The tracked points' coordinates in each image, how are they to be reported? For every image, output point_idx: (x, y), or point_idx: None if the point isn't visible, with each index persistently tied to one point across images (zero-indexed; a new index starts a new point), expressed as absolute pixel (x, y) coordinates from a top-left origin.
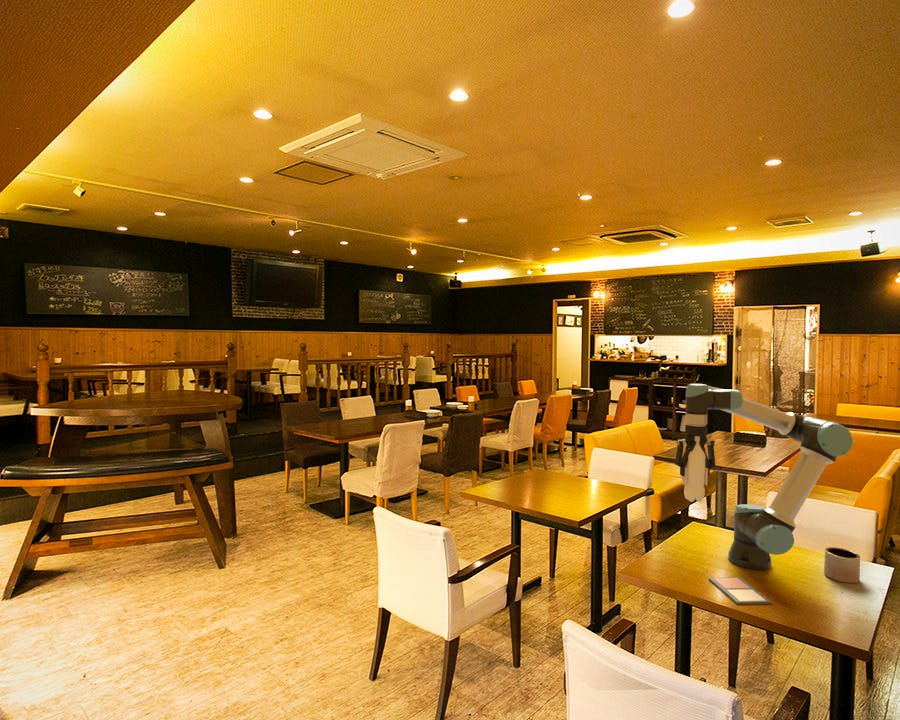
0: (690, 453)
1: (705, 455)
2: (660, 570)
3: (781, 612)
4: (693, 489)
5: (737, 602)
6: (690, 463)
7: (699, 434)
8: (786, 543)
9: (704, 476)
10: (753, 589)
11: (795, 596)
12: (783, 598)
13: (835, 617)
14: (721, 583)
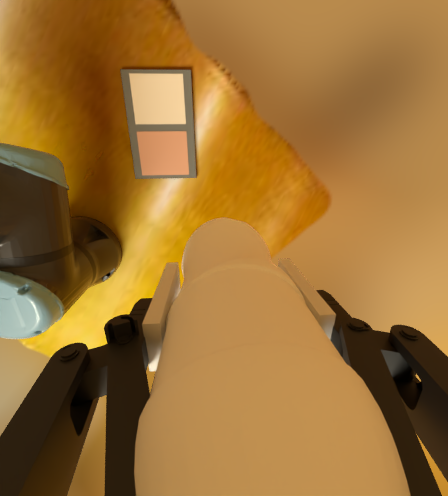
0: (404, 476)
1: (129, 462)
2: (265, 214)
3: (117, 32)
4: (250, 237)
5: (189, 70)
6: (326, 337)
7: None
8: None
9: (172, 299)
10: (132, 125)
11: (58, 104)
12: (86, 95)
13: (12, 3)
14: (183, 151)
